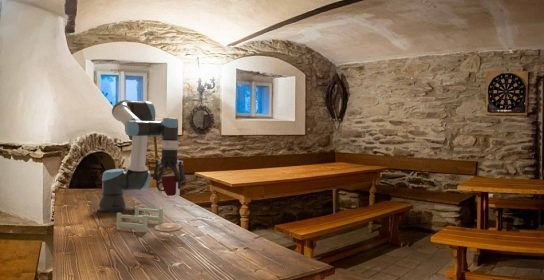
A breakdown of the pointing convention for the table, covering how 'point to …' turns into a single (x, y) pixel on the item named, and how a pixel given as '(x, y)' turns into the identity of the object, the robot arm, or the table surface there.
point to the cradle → (137, 217)
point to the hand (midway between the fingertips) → (168, 194)
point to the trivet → (168, 227)
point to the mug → (168, 184)
